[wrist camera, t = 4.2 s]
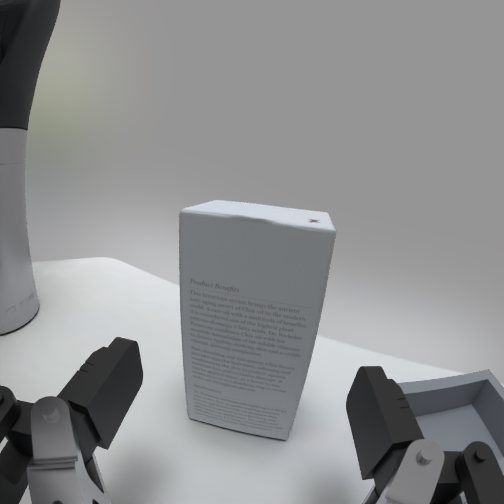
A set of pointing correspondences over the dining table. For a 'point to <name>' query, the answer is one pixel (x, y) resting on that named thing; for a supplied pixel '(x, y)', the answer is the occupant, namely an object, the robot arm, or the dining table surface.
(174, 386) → the dining table surface
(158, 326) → the dining table surface
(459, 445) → the gray tray
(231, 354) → the skincare box
